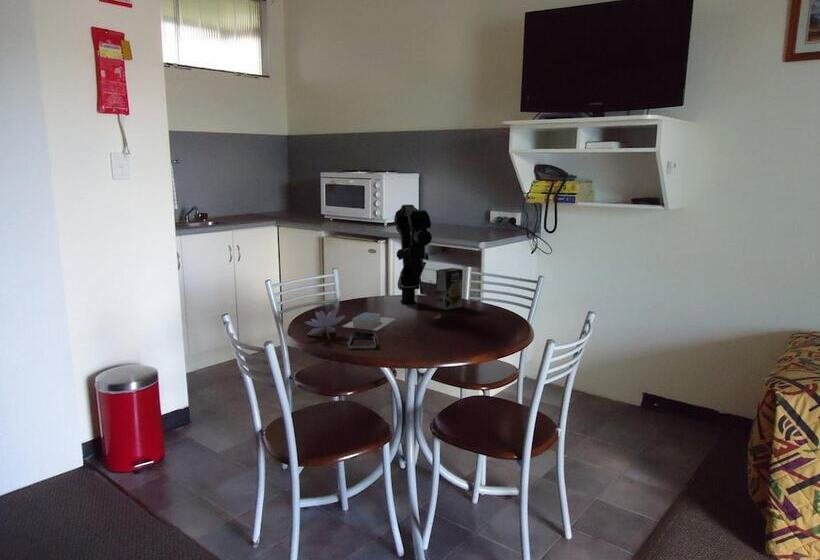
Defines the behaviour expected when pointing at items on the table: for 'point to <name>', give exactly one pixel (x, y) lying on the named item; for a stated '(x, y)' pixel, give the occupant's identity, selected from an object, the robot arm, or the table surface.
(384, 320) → the mat
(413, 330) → the table surface
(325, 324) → the water lily
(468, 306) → the table surface
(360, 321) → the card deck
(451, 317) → the table surface
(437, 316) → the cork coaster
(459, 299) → the coffee box
